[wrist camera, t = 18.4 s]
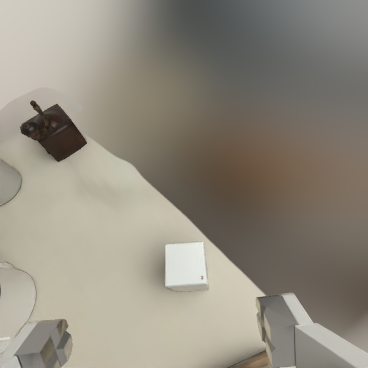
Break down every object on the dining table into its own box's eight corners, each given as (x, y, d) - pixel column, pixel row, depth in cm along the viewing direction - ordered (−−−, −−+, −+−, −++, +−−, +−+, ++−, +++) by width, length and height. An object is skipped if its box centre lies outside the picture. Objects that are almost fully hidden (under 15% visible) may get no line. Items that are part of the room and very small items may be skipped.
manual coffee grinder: (42, 143, 74) (-3, 98, 59) (73, 124, 77) (37, 76, 61) (64, 175, 68) (20, 134, 52) (96, 153, 71) (64, 107, 55)
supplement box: (205, 254, 54) (205, 240, 43) (208, 290, 51) (208, 285, 40) (173, 256, 55) (164, 243, 43) (174, 292, 51) (164, 287, 40)
